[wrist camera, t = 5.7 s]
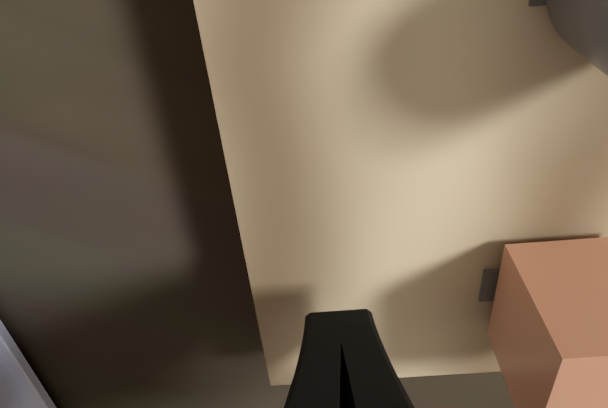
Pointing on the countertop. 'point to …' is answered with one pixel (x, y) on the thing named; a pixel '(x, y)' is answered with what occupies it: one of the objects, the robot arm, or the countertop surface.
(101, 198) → the countertop surface
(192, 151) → the countertop surface
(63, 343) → the countertop surface
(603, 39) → the charcoal knob
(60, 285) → the countertop surface
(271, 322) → the control board
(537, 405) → the matte peach cube
